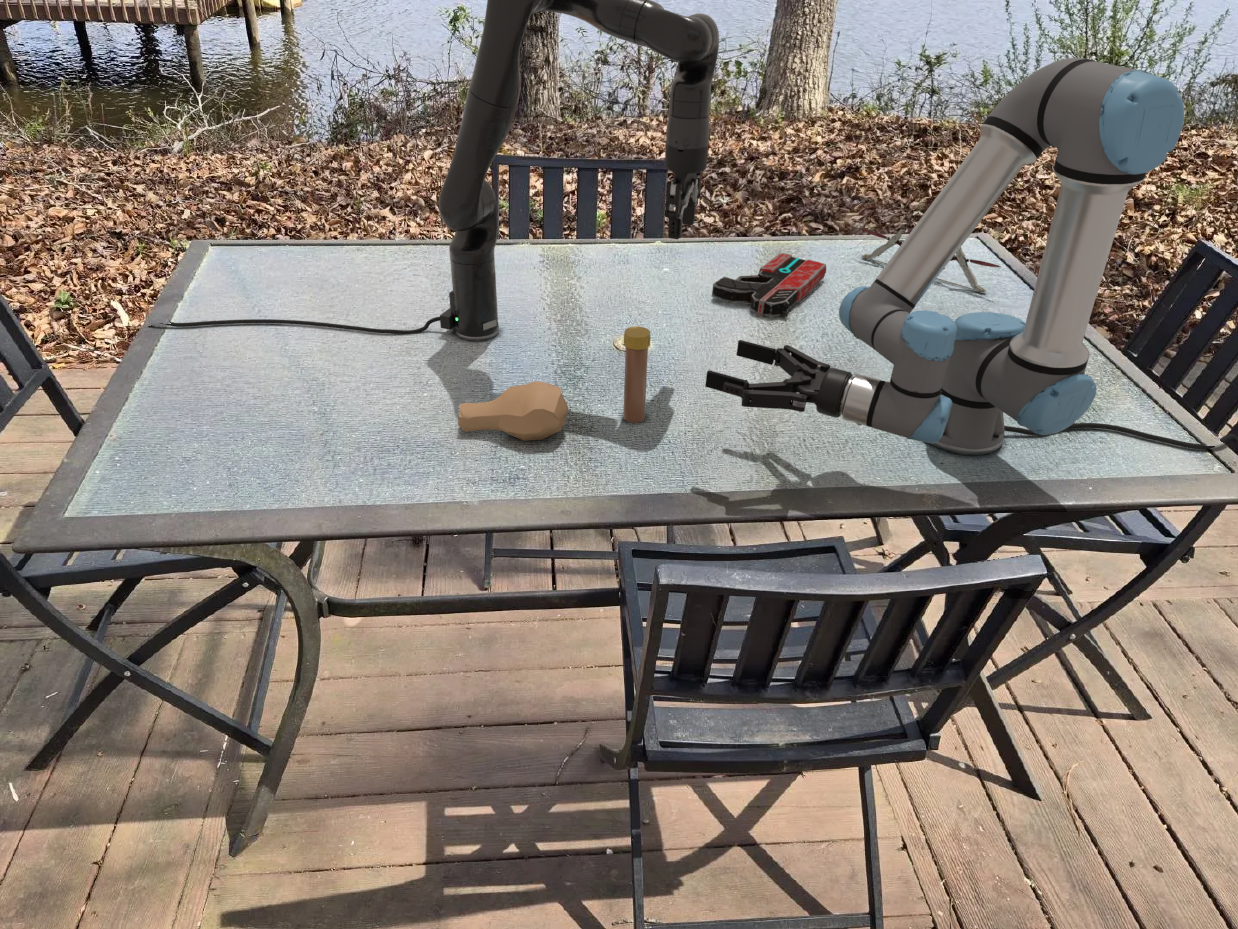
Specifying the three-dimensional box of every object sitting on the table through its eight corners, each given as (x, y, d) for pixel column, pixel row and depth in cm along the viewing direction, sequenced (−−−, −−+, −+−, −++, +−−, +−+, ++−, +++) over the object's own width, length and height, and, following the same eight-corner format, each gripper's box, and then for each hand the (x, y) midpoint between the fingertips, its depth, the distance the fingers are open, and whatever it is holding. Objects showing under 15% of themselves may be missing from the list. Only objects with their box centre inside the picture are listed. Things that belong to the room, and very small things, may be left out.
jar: (641, 424, 162) (645, 340, 152) (620, 420, 163) (623, 337, 153) (647, 414, 165) (651, 331, 156) (626, 410, 166) (629, 327, 157)
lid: (646, 351, 153) (646, 339, 152) (620, 347, 154) (621, 335, 153) (652, 340, 157) (653, 328, 156) (627, 337, 158) (628, 324, 157)
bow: (994, 294, 218) (1005, 255, 212) (991, 296, 216) (1002, 257, 211) (857, 254, 239) (863, 218, 233) (853, 256, 238) (860, 219, 232)
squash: (570, 447, 155) (562, 408, 149) (459, 455, 156) (447, 417, 150) (573, 407, 163) (565, 369, 157) (467, 416, 164) (456, 378, 158)
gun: (708, 284, 207) (784, 305, 199) (760, 245, 229) (831, 262, 221) (706, 302, 209) (781, 323, 201) (758, 261, 231) (828, 278, 223)
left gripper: (679, 130, 161) (673, 217, 170) (654, 148, 150) (649, 240, 159) (718, 134, 159) (711, 222, 168) (695, 153, 148) (689, 246, 157)
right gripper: (819, 451, 131) (690, 413, 139) (863, 385, 150) (747, 355, 158) (828, 408, 127) (694, 371, 135) (872, 345, 146) (752, 316, 154)
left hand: (681, 231), depth 164 cm, fingers open, 8 cm apart
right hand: (722, 362), depth 147 cm, fingers open, 13 cm apart
